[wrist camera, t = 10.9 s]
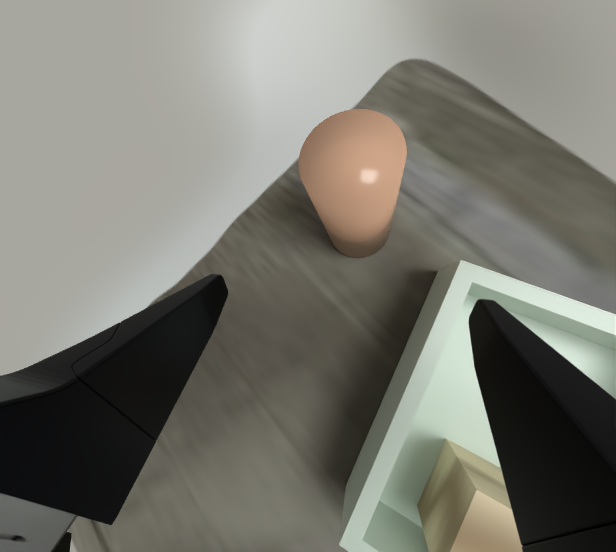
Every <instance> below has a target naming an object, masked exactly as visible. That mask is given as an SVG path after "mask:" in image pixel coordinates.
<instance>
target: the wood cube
mask: <svg viewBox="0 0 616 552" xmlns="http://www.w3.org/2000/svg"><path fill="white" fill-rule="evenodd" d="M417 507H418V511H419V515H420V519H421V523H422V527H423V531H424V535H425V539H426V543H427V547H428V551H429V552H523V551H522V545H521V542H520V539H519V535H518V531H517V527H516V524H515V520H514V516H513V512H512V508H511V505H510V501H509V497H508V493H507V490H506V486H505V482H504V478H503V474H502V471H501V468H500V467H498V466H496V465H494V464H492V463H490V462H489V461H487V460H485V459H483V458H481V457H479V456H478V455H476V454H474V453H472V452H470V451H468V450H466V449H465V448H463V447H461V446H459V445H457V444H455V443H454V442H452V441H450V440H448V439H446V440H445V442H444V445H443V447H442V449H441V452H440V454H439V456H438V458H437V461H436V463H435V465H434V468H433V470H432V472H431V475H430V477H429V479H428V481H427V484H426V486H425V488H424V491H423V493H422V495H421V498H420V500H419V502H418V505H417Z"/></svg>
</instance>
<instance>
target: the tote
mask: <svg viewBox="0 0 616 552" xmlns="http://www.w3.org/2000/svg"><path fill="white" fill-rule="evenodd" d="M478 299H489V300H494V301H496V302H497V303H498V304H499V305H501V306H502V307H503V308H504V309H506V310H507V311H508V312H509V313H510V314H512V315H513V316H514V317H515V318H517V319H518V320H519V321H520V322H522V323H523V324H524V325H525V326H526V327H528V328H529V329H530V330H531V331H533V332H534V333H535V334H536V335H538V336H539V337H540V338H541V339H542V340H544V341H545V342H546V343H547V344H549V345H550V346H551V347H552V348H554V349H555V350H556V351H557V352H558V353H560V354H561V355H562V356H563V357H565V358H566V359H567V360H568V361H570V362H571V363H572V364H573V365H574V366H576V367H577V368H578V369H579V370H581V371H582V372H583V373H584V374H585V375H587V376H588V377H589V378H590V379H592V380H593V381H594V382H595V383H597V384H598V385H599V386H600V387H601V388H603V389H604V390H605V391H606V392H608V393H609V394H610V395H611V396H613V397H614V398H615V399H616V315H615V314H612V313H609V312H607V311H604V310H601V309H598V308H595V307H593V306H590V305H587V304H584V303H581V302H578V301H576V300H573V299H570V298H567V297H564V296H561V295H559V294H556V293H553V292H550V291H547V290H544V289H542V288H539V287H536V286H533V285H530V284H528V283H525V282H522V281H519V280H516V279H513V278H511V277H508V276H505V275H502V274H499V273H496V272H494V271H491V270H488V269H485V268H482V267H480V266H477V265H474V264H471V263H468V262H465V261H463V260H460V261H458V262H456V263H454V264H452V265H450V266H448V267H446V268H444V269H442V270H440V271H438V272H437V275H436V277H435V279H434V281H433V284H432V286H431V288H430V291H429V293H428V295H427V298H426V300H425V302H424V305H423V307H422V309H421V312H420V314H419V316H418V319H417V321H416V323H415V326H414V328H413V330H412V333H411V335H410V337H409V340H408V342H407V344H406V347H405V349H404V351H403V354H402V356H401V358H400V361H399V363H398V365H397V368H396V370H395V372H394V375H393V377H392V379H391V382H390V384H389V386H388V389H387V391H386V393H385V395H384V398H383V400H382V402H381V405H380V407H379V409H378V412H377V414H376V416H375V419H374V421H373V423H372V426H371V428H370V430H369V433H368V435H367V437H366V440H365V442H364V444H363V447H362V449H361V451H360V454H359V456H358V458H357V461H356V463H355V465H354V468H353V470H352V472H351V475H350V477H349V479H348V482H347V484H346V489H345V497H344V506H343V515H342V523H341V532H340V541H339V545H340V546H341V547H343V548H344V549H346V550H347V551H348V552H429V551H428V547H427V543H426V539H425V535H424V531H423V527H422V523H421V519H420V515H419V511H418V507H417V505H418V502H419V500H420V498H421V495H422V493H423V491H424V488H425V486H426V484H427V481H428V479H429V477H430V475H431V472H432V470H433V468H434V465H435V463H436V461H437V458H438V456H439V454H440V452H441V449H442V447H443V445H444V442H445V440H446V439H448V440H450V441H452V442H454V443H455V444H457V445H459V446H461V447H463V448H465V449H466V450H468V451H470V452H472V453H474V454H476V455H478V456H479V457H481V458H483V459H485V460H487V461H489V462H490V463H492V464H494V465H496V466H498V467H500V463H499V459H498V455H497V452H496V448H495V444H494V440H493V437H492V433H491V429H490V425H489V421H488V418H487V414H486V410H485V406H484V402H483V399H482V395H481V391H480V387H479V384H478V380H477V376H476V372H475V368H474V361H473V354H472V346H471V339H470V331H469V323H468V322H469V316H470V314H471V312H472V309H473V307H474V305H475V303H476V301H477V300H478ZM500 468H501V467H500Z"/></svg>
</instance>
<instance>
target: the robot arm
mask: <svg viewBox="0 0 616 552" xmlns="http://www.w3.org/2000/svg"><path fill="white" fill-rule="evenodd" d="M227 296H228V289H227V286H226V284H225V281H224V279H223V277H222V276H221V275H217V274H211V275H209V276H207V277H205V278H203V279H201V280H199V281H197V282H195V283H193V284H192V285H190V286H188V287H186V288H184V289H182V290H180V291H178V292H176V293H174V294H173V295H171V296H169V297H167V298H165V299H163V300H161V301H159V302H157V303H156V304H154V305H152V306H150V307H148V308H146V309H144V310H142V311H141V312H139V313H137V314H135V315H133V316H131V317H129V318H127V319H125V320H123V321H122V322H121V323H118V324H116V325H114V326H112V327H110V328H108V329H106V330H104V331H102V332H100V333H99V334H97V335H95V336H93V337H91V338H89V339H86V340H85V341H83V342H80V343H78V344H76V345H74V346H72V347H70V348H68V349H65V350H63V351H61V352H59V353H57V354H55V355H53V356H50V357H48V358H46V359H44V360H42V361H40V362H38V363H36V364H33V365H31V366H29V367H27V368H24V369H22V370H19V371H16V372H14V373H10V374H7V375H3V376H0V552H70V543H71V534H72V533H69V532H67V530H68V529H69V528H70V526H71V525H72V523H73V522H74V520H75V519H76V517H77V516H81V517H84V518H88V519H91V520H95V521H98V522H102V523H105V524H109V525H112V524H113V522H114V521H115V519H116V517H117V515H118V514H119V512H120V510H121V508H122V506H123V504H124V502H125V500H126V498H127V496H128V494H129V492H130V491H131V489H132V487H133V485H134V483H135V481H136V479H137V477H138V475H139V473H140V471H141V469H142V467H143V466H144V464H145V462H146V460H147V458H148V456H149V454H150V452H151V450H152V448H153V446H154V444H155V443H156V440H157V438H158V436H159V435H160V433H161V431H162V429H163V427H164V425H165V423H166V421H167V419H168V417H169V415H170V413H171V412H172V410H173V408H174V406H175V404H176V402H177V400H178V398H179V396H180V394H181V392H182V390H183V389H184V387H185V385H186V383H187V381H188V379H189V377H190V375H191V373H192V371H193V369H194V367H195V366H196V364H197V362H198V360H199V358H200V356H201V354H202V352H203V350H204V348H205V346H206V344H207V343H208V341H209V339H210V337H211V335H212V333H213V331H214V329H215V326H216V324H217V322H218V319H219V317H220V314H221V312H222V309H223V306H224V304H225V301H226V299H227ZM468 323H469V331H470V339H471V346H472V354H473V361H474V368H475V372H476V376H477V380H478V384H479V387H480V391H481V395H482V399H483V402H484V406H485V410H486V414H487V418H488V421H489V425H490V429H491V433H492V437H493V440H494V444H495V448H496V452H497V455H498V459H499V463H500V467H501V471H502V474H503V478H504V482H505V486H506V490H507V493H508V497H509V501H510V505H511V508H512V512H513V516H514V520H515V524H516V527H517V531H518V535H519V539H520V542H521V545H522V551H523V552H616V399H615V398H614V397H613V396H611V395H610V394H609V393H608V392H606V391H605V390H604V389H603V388H601V387H600V386H599V385H598V384H597V383H595V382H594V381H593V380H592V379H590V378H589V377H588V376H587V375H585V374H584V373H583V372H582V371H581V370H579V369H578V368H577V367H576V366H574V365H573V364H572V363H571V362H570V361H568V360H567V359H566V358H565V357H563V356H562V355H561V354H560V353H558V352H557V351H556V350H555V349H554V348H552V347H551V346H550V345H549V344H547V343H546V342H545V341H544V340H542V339H541V338H540V337H539V336H538V335H536V334H535V333H534V332H533V331H531V330H530V329H529V328H528V327H526V326H525V325H524V324H523V323H522V322H520V321H519V320H518V319H517V318H515V317H514V316H513V315H512V314H510V313H509V312H508V311H507V310H506V309H504V308H503V307H502V306H501V305H499V304H498V303H497V302H496V301H494V300H489V299H478V300H477V301H476V303H475V305H474V307H473V309H472V312H471V314H470V316H469V322H468Z"/></svg>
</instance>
